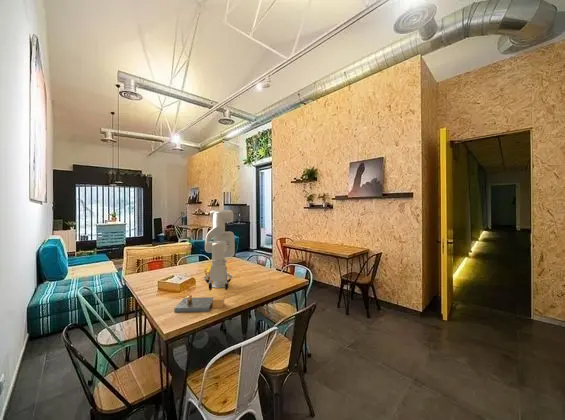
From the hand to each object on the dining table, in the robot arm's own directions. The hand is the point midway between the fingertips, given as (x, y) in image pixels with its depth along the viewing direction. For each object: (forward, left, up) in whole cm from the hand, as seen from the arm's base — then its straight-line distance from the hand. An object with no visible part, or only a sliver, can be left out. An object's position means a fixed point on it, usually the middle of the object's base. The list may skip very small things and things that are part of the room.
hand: (218, 289), depth 149 cm
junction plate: (-1, -14, -10) cm, 18 cm away
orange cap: (-1, 0, -10) cm, 10 cm away
